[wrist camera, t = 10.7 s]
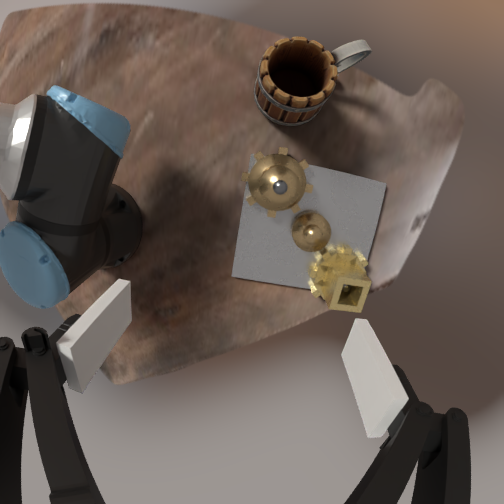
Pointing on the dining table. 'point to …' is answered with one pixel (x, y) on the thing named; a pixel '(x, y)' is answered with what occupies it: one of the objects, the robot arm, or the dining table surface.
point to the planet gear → (340, 279)
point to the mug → (301, 77)
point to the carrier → (301, 218)
